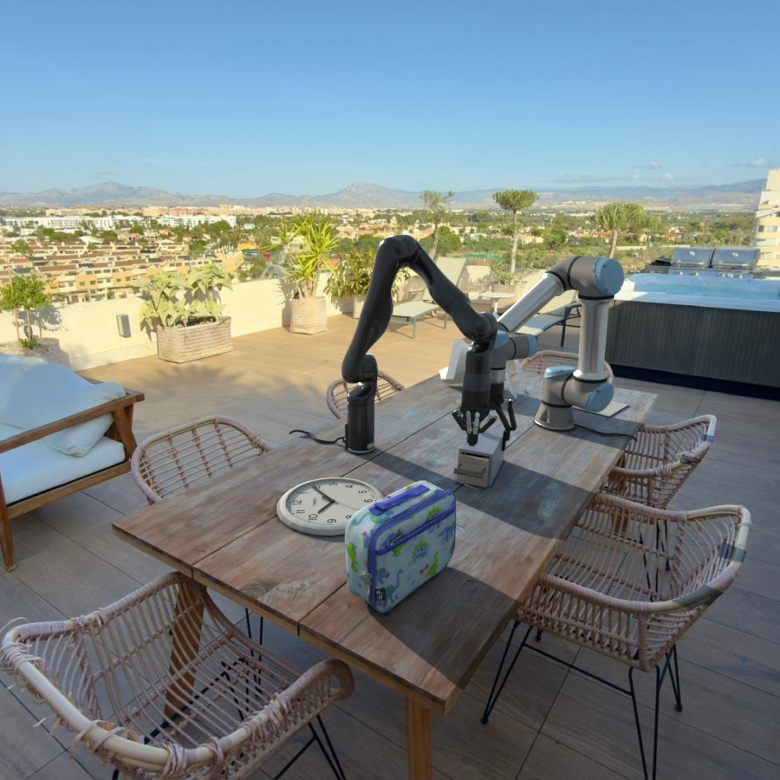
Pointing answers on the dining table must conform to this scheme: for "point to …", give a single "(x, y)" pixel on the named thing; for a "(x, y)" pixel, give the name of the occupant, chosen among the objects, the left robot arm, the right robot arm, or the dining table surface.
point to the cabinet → (488, 450)
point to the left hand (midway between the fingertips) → (472, 445)
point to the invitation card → (609, 408)
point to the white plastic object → (457, 365)
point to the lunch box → (399, 543)
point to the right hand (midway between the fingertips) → (486, 446)
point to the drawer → (472, 469)
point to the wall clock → (325, 504)
